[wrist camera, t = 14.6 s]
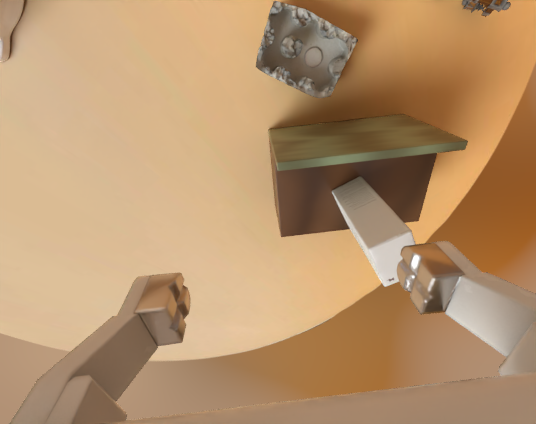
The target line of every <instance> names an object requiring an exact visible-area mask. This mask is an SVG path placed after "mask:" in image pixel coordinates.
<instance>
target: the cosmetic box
mask: <svg viewBox="0 0 536 424" xmlns="http://www.w3.org/2000/svg"><path fill="white" fill-rule="evenodd" d="M332 194H333V196H334V198H335V200H336V202H337V204H338V206H339V208H340V211H341V213H342V215H343V217H344V219H345V221H346V223H347V225H348V226H349V228H350V230H351V231H352V233H353V235H354V236H355V238H356V240H357V241H358V243H359V245H360V247H361V248H362V250H363V252H364V253H365V255H366V257H367V258H368V260H369V262H370V264H371V265H372V267H373V269H374V271H375V272H376V274H377V276H378V277H379V279H380V281H381V282H382V284H383V285H384V286H389V285H391V284H394V283H396V282H399V279H398V276H397V266H398V263H399V262H400V261H401V260H402V259H403V258H402V256H401V255H400V253H401V249H402V248H403V247H404V246H409V245H416V244H415V241H414V238H413V235H412V231H411V230H410V229H409V228H408V227H407V225H406V224H405V223H404V222H403V221H402V220H401V219H400V218H399V217H398V216H397V215H396V213H395V212H394V211H393V210H392V209H391V208H390V207H389V206H388V205H387V204H386V203H385V202H384V200H383V199H382V198H381V197H380V196H379V195H378V194H377V193H376V192H375V191H374V190H373V189H372V188H371V186H370V185H369V184H368V183H367V182H366V181H365V180H364V179H363V178H362V177H357V178H356V179H354V180H352V181H350V182H348V183H346V184H344V185H342V186H340V187H338V188H336V189H334V190H332Z"/></svg>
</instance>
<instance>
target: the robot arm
mask: <svg viewBox="0 0 536 424" xmlns="http://www.w3.org/2000/svg"><path fill="white" fill-rule="evenodd" d="M23 5H24V0H0V62H4V61H6V60H7V59H8V58H9V54H10V35H11V33H12V31H13V29H14V27H15V26H16V24H17V23H18V21H19V19H20V17H21V14H22V10H23ZM400 255H401V256H402V258H403V259H402V260H401V261H400V262H399V263H398V266H397V276H398V279H399V282H400V284H401V285H402V287H403V288H404V289H405V290H407V291H409V292H410V293H411V296H410V299H411V301H412V302H413V304H414V305H415V307H416V308H417V310H418V311H419V313H420V314H430V313H441V312H445V314H447V315H448V316H449V317H451V318H452V319H454V320H455V321H456V322H458V323H459V324H461V325H462V326H463V327H465V328H466V329H468V330H469V331H470V332H472V333H473V334H475V335H476V336H477V337H479V338H480V339H482V340H483V341H484V342H486V343H487V344H489V345H490V346H492V347H493V348H494V349H496V350H497V351H499V352H500V353H501V354H503V355H504V356H506V359H505V360H504V361H503V363H502V364H501V365H500V366H499V370H498V371H499V373H500V374H501V376H494V377H486V378H477V379H469V380H461V381H452V382H444V383H436V384H427V385H419V386H410V387H402V388H393V389H385V390H377V391H369V392H360V393H351V394H343V395H335V396H327V397H318V398H310V399H301V400H293V401H284V402H276V403H269V404H259V405H251V406H243V407H235V408H226V409H218V410H209V411H201V412H193V413H185V414H176V415H168V416H159V417H151V418H143V419H134V420H126V418H127V414H126V412H125V411H124V410H123V409H122V408H121V407H120V406H119V405H118V404H117V403H116V401H117V400H118V398H119V397H120V396H121V395H122V393H123V392H124V391H125V389H126V388H127V387H128V386H129V384H130V383H131V382H132V380H133V379H134V378H135V377H136V375H137V374H138V373H139V371H140V370H141V369H142V367H143V366H144V365H145V364H146V362H147V361H148V360H149V358H150V357H151V356H152V355H153V353H154V352H155V351H156V349H157V348H158V347H157V346H162V345H169V344H176V343H182V341H183V337H184V332H185V328H186V323H185V321H184V318H185V317H186V316H187V315H188V314H189V310H190V294H189V291H188V288H187V287H185V286H184V285H183V283H184V278H183V276H182V273H169V274H159V275H152V276H140V277H137V278H136V279H135V280H134V282H133V284H132V286H131V288H130V290H129V292H128V294H127V296H126V298H125V301H124V303H123V305H122V307H121V309H120V311H119V313H118V315H117V316H112V317H111V318H110V319H109V320H108V321H106V322H105V323H104V324H103V325H102V326H101V327H99V328H98V329H97V330H96V331H95V332H93V333H92V334H91V335H90V336H89V337H88V338H86V339H85V340H84V341H83V342H82V343H80V344H79V345H78V346H77V347H76V348H74V349H73V350H72V351H71V352H70V353H69V354H67V355H66V356H65V357H64V358H63V359H61V360H60V361H59V362H58V363H57V364H55V365H54V366H53V367H52V368H51V369H50V370H48V371H47V372H46V373H45V374H44V375H42V376H41V377H40V378H39V379H38V380H37V381H36V383H35V384H34V386H33V388H32V389H31V391H30V392H29V394H28V396H27V397H26V399H25V400H24V402H23V403H22V405H21V407H20V408H19V410H18V411H17V413H16V414H15V416H14V417H13V419H12V421H11V422H10V424H536V294H535V293H533V292H531V291H528V290H526V289H524V288H522V287H519V286H517V285H515V284H512V283H510V282H508V281H506V280H503V279H501V278H499V277H496V276H494V275H492V274H489V273H487V272H486V273H482V272H481V271H480V270H479V269H478V268H477V267H476V266H475V265H474V264H472V263H471V262H470V261H469V260H468V259H467V258H466V257H465V256H464V255H463V254H462V253H461V252H460V251H459V250H458V249H457V248H455V246H453V245H452V244H451V243H450V242H448V241H440V242H433V243H425V244H417V245H409V246H404V247H403V248H402V249H401V253H400Z"/></svg>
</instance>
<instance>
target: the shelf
mask: <svg viewBox="0 0 536 424" xmlns="http://www.w3.org/2000/svg"><path fill="white" fill-rule="evenodd" d="M268 131H269V142H270V153H271V164H272V175H273V186H274V197H275V206H276V212H277V218H278V223H279V229H280V234H281V237H286V236H294V235H303V234H311V233H320V232H328V231H337V230H346V229H350V228H349V226H348V225H347V223H346V221H345V219H344V217H343V215H342V213H341V211H340V208H339V206H338V204H337V202H336V200H335V198H334V196H333V194H332V190H334V189H336V188H338V187H340V186H342V185H344V184H346V183H348V182H350V181H352V180H354V179H356V178H357V177H362V178H363V179H364V180H365V181H366V182H367V183H368V184H369V185H370V186H371V188H372V189H373V190H374V191H375V192H376V193H377V194H378V195H379V196H380V197H381V198H382V199H383V200H384V202H385V203H386V204H387V205H388V206H389V207H390V208H391V209H392V210H393V211H394V212H395V213H396V215H397V216H398V217H399V218H400V219H401V220H402V221H403V222H404V223H406V222H414V221H419V217H420V214H421V210H422V206H423V203H424V199H425V195H426V192H427V188H428V184H429V181H430V177H431V173H432V170H433V166H434V162H435V159H436V155H437V153H440V152H449V151H457V150H465V148H466V145H467V142H468V141H467V140H465V139H462V138H460V137H458V136H455V135H453V134H450V133H448V132H446V131H443V130H441V129H438V128H436V127H434V126H431V125H429V124H426V123H424V122H422V121H419V120H417V119H414V118H412V117H410V116H407V115H405V114H400V115H391V116H382V117H374V118H365V119H356V120H347V121H338V122H330V123H321V124H312V125H303V126H295V127H286V128H277V129H269V130H268Z"/></svg>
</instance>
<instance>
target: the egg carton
mask: <svg viewBox="0 0 536 424" xmlns="http://www.w3.org/2000/svg"><path fill="white" fill-rule="evenodd" d="M357 41H358V39H357V38H355V37H354V36H352V35H351V34H349V33H347V32H345V31H344V30H342V29H340V28H338V27H336V26H334V25H332V24H331V23H329V22H327V21H326V20H324V19H323V18H320V17H318V16H317V15H315V14H314V13H312V12H310V11H308V10H306V9H303V8H300V7H296V6H292V5H289V4H285V3H281V2H278V1H274V2H273V6H272V8H271V10H270V13H269V17H268V22H267V25H266V28H265V31H264V36H263V39H262V42H261V46H260V48H259V51H258V56H257V62H256V67H257V68H258V69H259V70H261V71H262V72H264V73H266V74H267V75H269V76H271V77H273V78H275V79H277V80H279V81H282V82H284V83H286V84H287V85H289V86H292V87H294V88H296V89H298V90H300V91H302V92H304V93H306V94H309V95H311V96H313V97H317V98H324V97H329V96H330V95H331V94H332V92H333V90H334V88H335V85H336V83H337V81H338V79H339V77H340V75H341V72H342V70H343V68H344V66H345V64H346V62H347V60H348V59H349V57H350V55H351V53H352V51H353V49H354V47H355V45H356V43H357Z"/></svg>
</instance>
